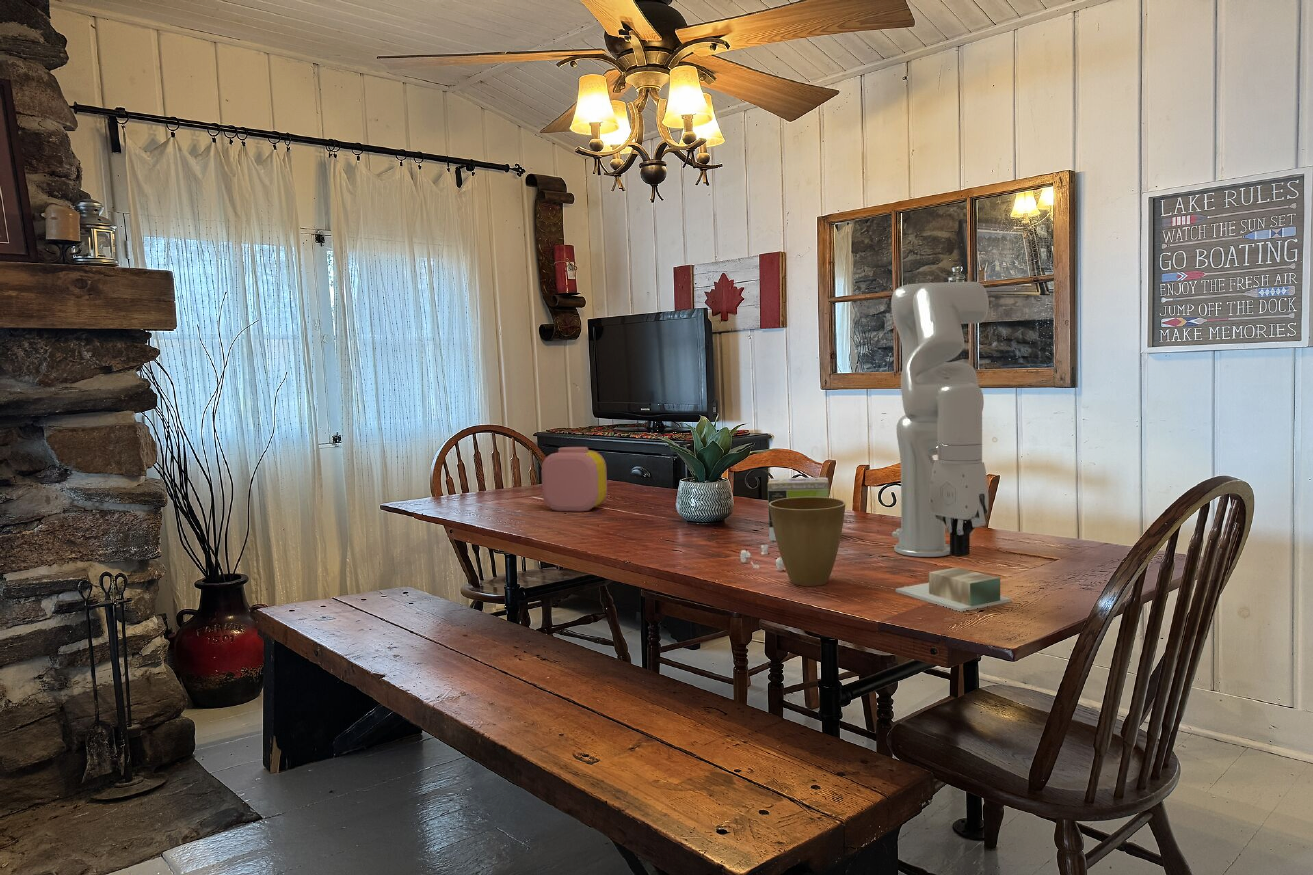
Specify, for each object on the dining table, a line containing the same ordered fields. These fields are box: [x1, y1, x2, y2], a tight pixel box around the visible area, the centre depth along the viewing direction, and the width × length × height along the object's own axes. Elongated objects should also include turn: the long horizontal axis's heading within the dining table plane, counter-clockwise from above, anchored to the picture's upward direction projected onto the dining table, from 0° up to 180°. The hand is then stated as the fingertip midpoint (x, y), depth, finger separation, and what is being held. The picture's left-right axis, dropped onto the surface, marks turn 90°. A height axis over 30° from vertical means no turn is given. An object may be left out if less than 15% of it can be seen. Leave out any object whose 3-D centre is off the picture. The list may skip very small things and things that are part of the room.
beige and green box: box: [928, 566, 1001, 606], centre depth 155 cm, size 4×7×10 cm
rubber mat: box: [895, 582, 1011, 613], centre depth 158 cm, size 16×12×1 cm
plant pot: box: [769, 497, 847, 587], centre depth 171 cm, size 15×15×16 cm
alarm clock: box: [540, 446, 608, 513], centre depth 270 cm, size 18×11×19 cm, turn 74°
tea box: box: [767, 476, 830, 542], centre depth 216 cm, size 15×10×15 cm, turn 80°
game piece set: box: [739, 544, 785, 572], centre depth 191 cm, size 19×20×4 cm
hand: (959, 554), depth 156 cm, fingers closed
